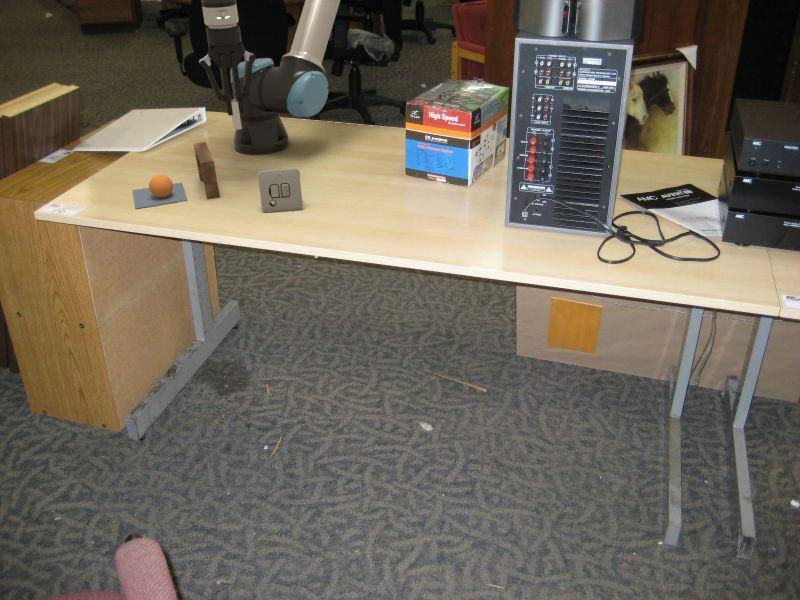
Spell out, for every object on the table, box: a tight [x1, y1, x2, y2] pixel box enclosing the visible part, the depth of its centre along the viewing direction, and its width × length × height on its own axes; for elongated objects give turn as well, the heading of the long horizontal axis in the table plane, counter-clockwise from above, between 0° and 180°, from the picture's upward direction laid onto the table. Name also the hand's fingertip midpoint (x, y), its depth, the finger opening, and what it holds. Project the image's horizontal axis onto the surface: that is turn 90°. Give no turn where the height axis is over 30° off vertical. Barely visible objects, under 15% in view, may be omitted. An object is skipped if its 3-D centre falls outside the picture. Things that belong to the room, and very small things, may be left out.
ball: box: [148, 174, 174, 198], centre depth 179 cm, size 6×6×6 cm
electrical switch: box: [257, 167, 304, 213], centre depth 171 cm, size 9×5×9 cm, turn 96°
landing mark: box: [131, 182, 188, 210], centre depth 181 cm, size 12×12×1 cm
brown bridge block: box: [192, 141, 221, 200], centre depth 182 cm, size 3×14×9 cm, turn 20°
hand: (237, 127), depth 179 cm, fingers closed
